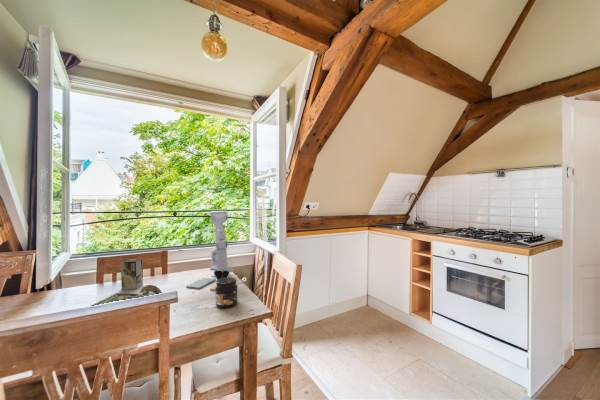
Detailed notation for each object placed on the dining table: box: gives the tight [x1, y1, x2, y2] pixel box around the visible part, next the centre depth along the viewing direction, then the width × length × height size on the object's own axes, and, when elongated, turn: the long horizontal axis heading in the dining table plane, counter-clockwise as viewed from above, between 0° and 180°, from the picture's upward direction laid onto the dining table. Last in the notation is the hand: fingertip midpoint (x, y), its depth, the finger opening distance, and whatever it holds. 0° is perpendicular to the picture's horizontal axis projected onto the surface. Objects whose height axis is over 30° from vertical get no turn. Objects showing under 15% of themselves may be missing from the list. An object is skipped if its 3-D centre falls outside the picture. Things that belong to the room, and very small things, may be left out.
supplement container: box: [215, 276, 239, 309], centre depth 123 cm, size 10×10×12 cm
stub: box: [209, 277, 222, 292], centre depth 147 cm, size 15×5×5 cm, turn 163°
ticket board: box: [186, 277, 217, 290], centre depth 152 cm, size 15×9×1 cm, turn 163°
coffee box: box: [120, 258, 144, 290], centre depth 148 cm, size 9×6×16 cm
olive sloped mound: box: [90, 284, 163, 306], centre depth 127 cm, size 33×8×20 cm
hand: (222, 283), depth 147 cm, fingers closed on stub, 2 cm apart
